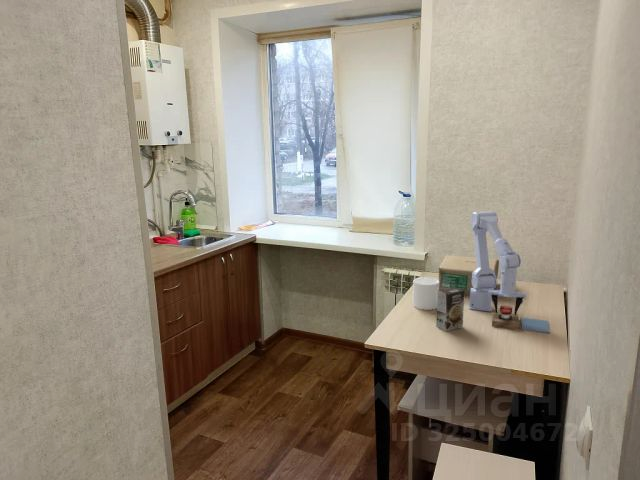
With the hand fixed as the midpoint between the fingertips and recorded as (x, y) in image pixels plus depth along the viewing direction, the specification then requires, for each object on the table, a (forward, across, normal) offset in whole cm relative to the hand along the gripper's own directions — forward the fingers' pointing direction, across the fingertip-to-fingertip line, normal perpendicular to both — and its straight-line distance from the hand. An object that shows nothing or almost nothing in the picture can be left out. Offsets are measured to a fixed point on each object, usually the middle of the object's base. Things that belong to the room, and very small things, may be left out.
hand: (505, 313), depth 193 cm
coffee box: (+5, -22, -11) cm, 25 cm away
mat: (+4, +12, +1) cm, 12 cm away
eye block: (+4, 0, 0) cm, 4 cm away
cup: (+5, -34, +10) cm, 36 cm away
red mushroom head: (+4, 0, 0) cm, 4 cm away
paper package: (+5, -18, +41) cm, 45 cm away
